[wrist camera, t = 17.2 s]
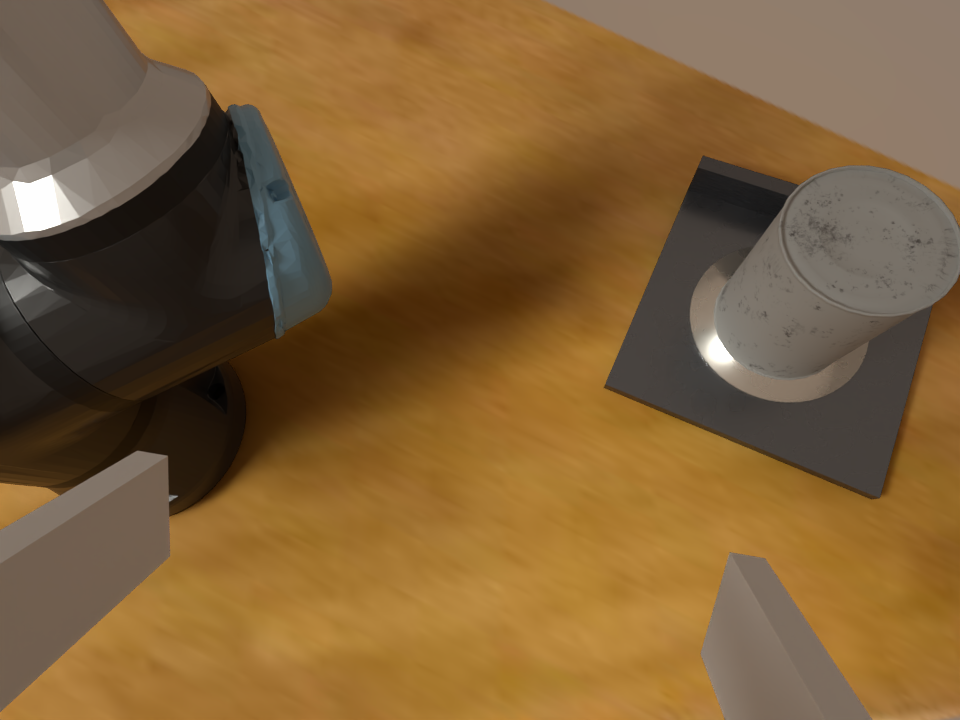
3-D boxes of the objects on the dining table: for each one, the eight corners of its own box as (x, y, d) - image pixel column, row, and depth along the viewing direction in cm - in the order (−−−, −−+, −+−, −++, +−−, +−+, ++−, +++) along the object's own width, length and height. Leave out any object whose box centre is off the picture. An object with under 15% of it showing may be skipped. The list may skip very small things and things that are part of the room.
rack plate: (603, 387, 43) (610, 373, 39) (689, 185, 48) (702, 155, 44) (871, 499, 39) (907, 494, 35) (936, 265, 44) (974, 239, 40)
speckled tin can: (771, 242, 44) (855, 136, 33) (872, 324, 41) (1003, 240, 30) (686, 316, 43) (742, 234, 31) (785, 406, 40) (886, 351, 29)
